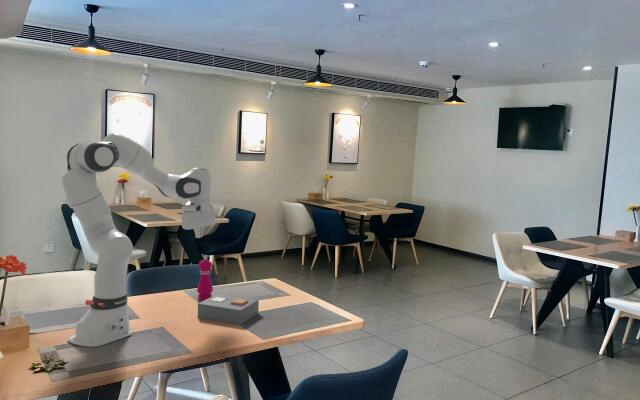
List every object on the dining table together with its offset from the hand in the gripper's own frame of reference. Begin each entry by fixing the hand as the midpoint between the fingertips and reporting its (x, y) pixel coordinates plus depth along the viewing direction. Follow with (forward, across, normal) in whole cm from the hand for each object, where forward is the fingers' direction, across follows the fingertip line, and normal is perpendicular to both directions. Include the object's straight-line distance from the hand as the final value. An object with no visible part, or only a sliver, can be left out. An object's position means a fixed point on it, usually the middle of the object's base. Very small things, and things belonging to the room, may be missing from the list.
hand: (198, 237), depth 222 cm
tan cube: (+30, +1, +22) cm, 37 cm away
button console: (+32, +1, +16) cm, 36 cm away
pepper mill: (+32, -14, -6) cm, 35 cm away
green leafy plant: (+33, +69, -9) cm, 77 cm away
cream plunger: (+30, +1, +12) cm, 33 cm away
